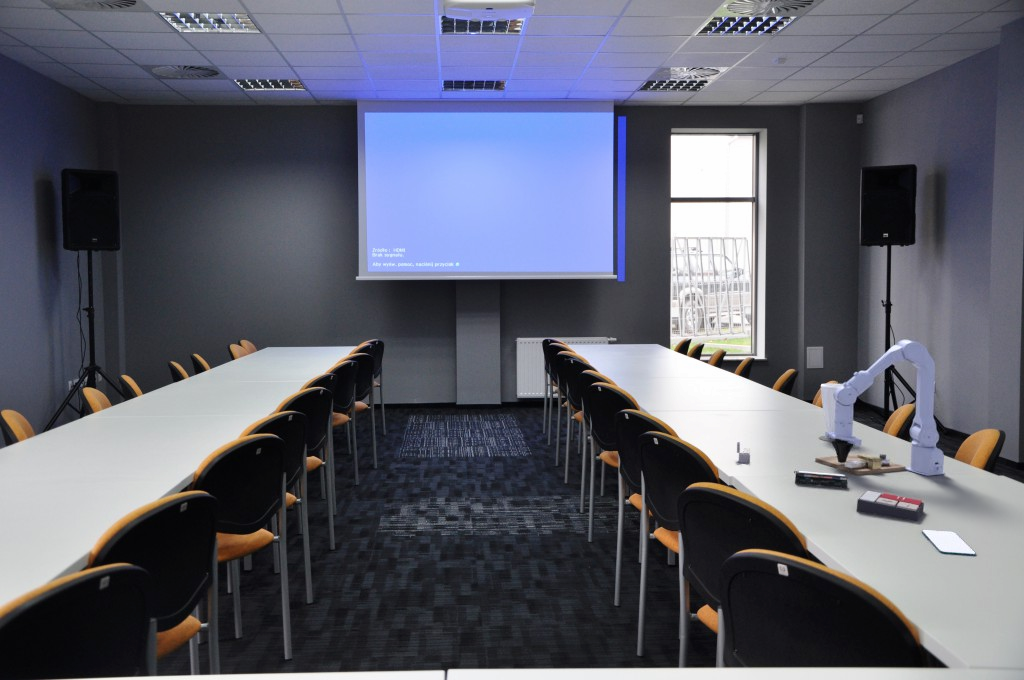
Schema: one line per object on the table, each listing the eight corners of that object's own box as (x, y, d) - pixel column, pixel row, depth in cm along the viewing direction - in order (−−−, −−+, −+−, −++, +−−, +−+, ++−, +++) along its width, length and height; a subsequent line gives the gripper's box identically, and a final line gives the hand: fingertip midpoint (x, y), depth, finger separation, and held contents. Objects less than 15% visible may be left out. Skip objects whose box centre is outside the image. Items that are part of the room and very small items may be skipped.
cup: (820, 441, 307) (822, 386, 305) (816, 435, 318) (818, 382, 316) (852, 443, 304) (854, 387, 302) (846, 437, 315) (849, 384, 314)
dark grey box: (918, 509, 207) (857, 497, 215) (916, 525, 207) (856, 512, 216) (924, 500, 215) (866, 488, 224) (923, 515, 216) (864, 502, 225)
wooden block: (881, 468, 259) (881, 458, 258) (872, 469, 258) (873, 459, 257) (865, 463, 265) (865, 454, 265) (856, 464, 264) (857, 454, 264)
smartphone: (977, 558, 182) (954, 535, 197) (977, 554, 181) (954, 531, 197) (939, 555, 183) (920, 532, 199) (940, 551, 183) (920, 529, 199)
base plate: (905, 470, 262) (906, 457, 261) (857, 475, 255) (858, 461, 255) (860, 457, 280) (861, 444, 280) (815, 461, 274) (815, 448, 274)
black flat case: (785, 478, 253) (786, 465, 252) (870, 486, 244) (871, 472, 243) (784, 490, 239) (785, 476, 239) (874, 498, 230) (875, 484, 230)
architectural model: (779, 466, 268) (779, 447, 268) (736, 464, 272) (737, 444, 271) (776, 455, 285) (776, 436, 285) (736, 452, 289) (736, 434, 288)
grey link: (882, 461, 267) (882, 457, 267) (892, 464, 263) (892, 460, 263) (843, 465, 261) (843, 461, 261) (853, 468, 257) (853, 464, 257)
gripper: (818, 419, 269) (817, 458, 270) (850, 427, 255) (848, 468, 256) (835, 418, 271) (833, 456, 272) (867, 425, 257) (865, 466, 259)
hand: (842, 462), depth 264 cm, fingers closed
